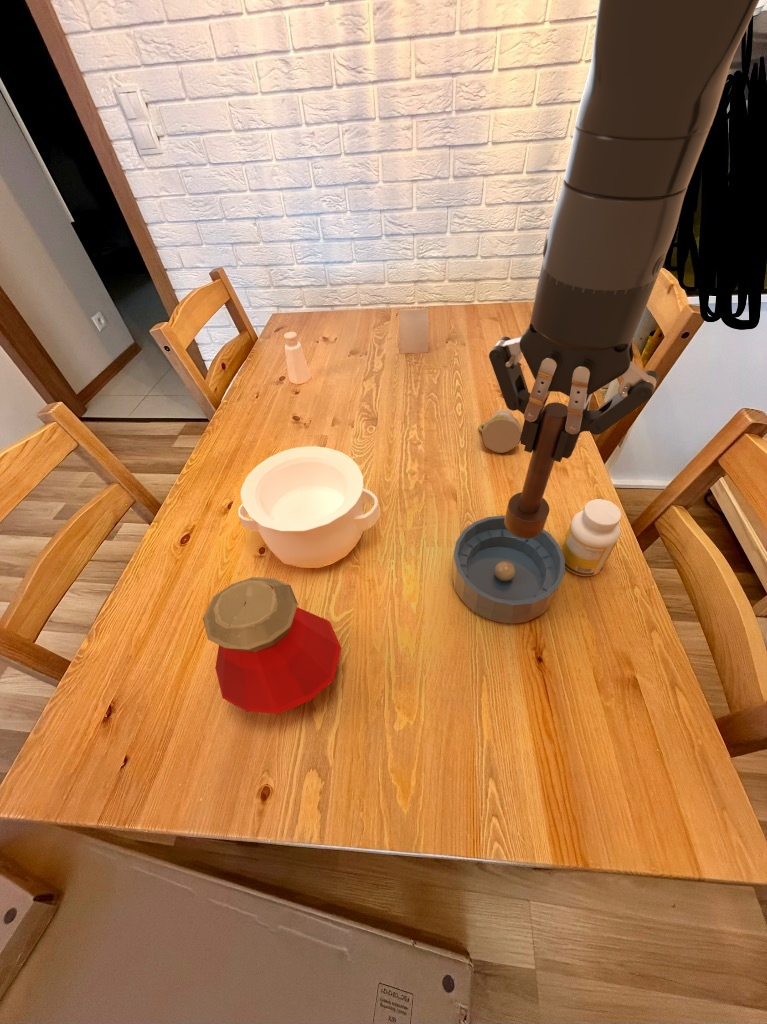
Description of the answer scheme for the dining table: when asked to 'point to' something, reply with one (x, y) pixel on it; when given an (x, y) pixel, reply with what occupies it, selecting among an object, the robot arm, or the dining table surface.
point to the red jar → (269, 646)
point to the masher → (537, 477)
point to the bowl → (533, 577)
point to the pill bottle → (591, 537)
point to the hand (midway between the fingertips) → (544, 450)
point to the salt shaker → (296, 360)
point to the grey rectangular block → (414, 330)
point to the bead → (505, 571)
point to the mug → (501, 432)
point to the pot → (307, 505)
